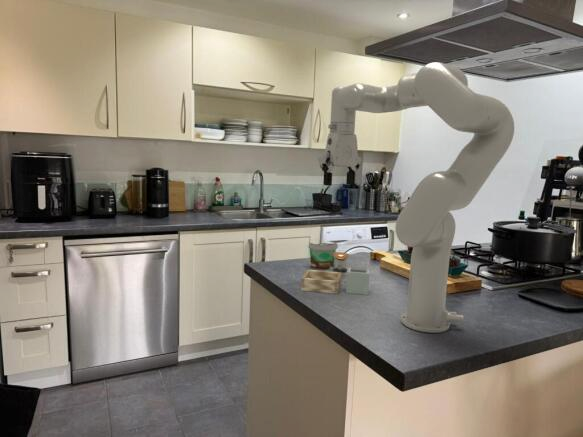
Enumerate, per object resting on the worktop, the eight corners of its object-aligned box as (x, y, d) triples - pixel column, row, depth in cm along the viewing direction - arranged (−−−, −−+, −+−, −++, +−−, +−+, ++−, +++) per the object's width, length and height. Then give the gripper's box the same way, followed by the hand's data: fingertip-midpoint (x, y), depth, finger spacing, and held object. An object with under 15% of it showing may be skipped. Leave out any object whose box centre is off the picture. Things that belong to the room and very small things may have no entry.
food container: (313, 271, 158) (314, 245, 157) (307, 267, 164) (308, 242, 162) (342, 269, 163) (343, 244, 161) (335, 265, 168) (336, 241, 167)
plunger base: (351, 276, 153) (352, 268, 153) (350, 282, 146) (350, 274, 145) (330, 274, 155) (330, 266, 155) (327, 280, 147) (327, 272, 147)
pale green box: (347, 288, 139) (348, 265, 138) (368, 290, 138) (369, 267, 137) (346, 292, 135) (347, 269, 133) (367, 295, 133) (369, 271, 132)
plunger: (348, 270, 152) (349, 252, 151) (347, 274, 147) (348, 256, 146) (333, 268, 153) (333, 251, 152) (331, 273, 148) (332, 255, 147)
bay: (340, 283, 144) (341, 272, 143) (337, 293, 133) (338, 281, 133) (306, 280, 146) (307, 269, 146) (301, 290, 136) (301, 278, 135)
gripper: (329, 127, 119) (326, 186, 122) (370, 130, 129) (367, 185, 132) (312, 127, 125) (310, 184, 128) (353, 131, 135) (350, 183, 138)
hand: (339, 185), depth 130 cm, fingers open, 9 cm apart
